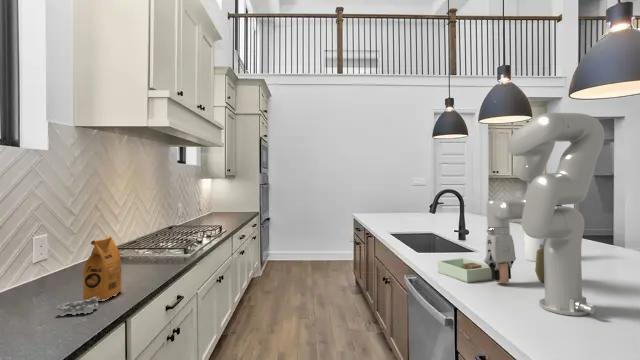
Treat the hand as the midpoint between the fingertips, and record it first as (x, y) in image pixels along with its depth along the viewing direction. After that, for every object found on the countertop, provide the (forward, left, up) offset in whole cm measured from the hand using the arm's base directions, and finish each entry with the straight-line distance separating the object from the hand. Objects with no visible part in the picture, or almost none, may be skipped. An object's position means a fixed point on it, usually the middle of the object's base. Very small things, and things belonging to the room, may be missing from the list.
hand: (501, 278), depth 131 cm
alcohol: (+23, -46, -3) cm, 52 cm away
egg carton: (+31, +147, -3) cm, 151 cm away
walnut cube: (+11, +4, -2) cm, 12 cm away
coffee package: (+45, +144, -3) cm, 151 cm away
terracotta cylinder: (0, 0, -1) cm, 1 cm away
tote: (+15, +4, -2) cm, 16 cm away
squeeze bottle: (-4, -19, -3) cm, 20 cm away
